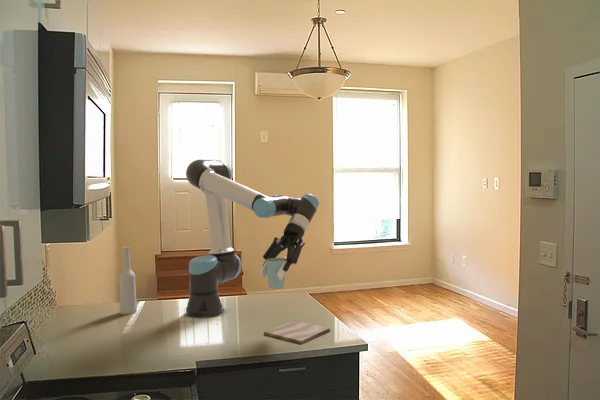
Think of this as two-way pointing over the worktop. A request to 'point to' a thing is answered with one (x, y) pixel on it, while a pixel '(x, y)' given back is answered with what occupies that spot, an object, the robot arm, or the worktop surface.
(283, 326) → the board
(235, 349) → the worktop surface
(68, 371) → the worktop surface
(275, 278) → the cup
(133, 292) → the bottle
